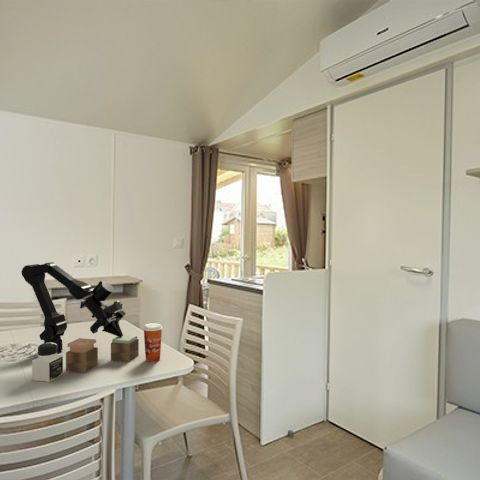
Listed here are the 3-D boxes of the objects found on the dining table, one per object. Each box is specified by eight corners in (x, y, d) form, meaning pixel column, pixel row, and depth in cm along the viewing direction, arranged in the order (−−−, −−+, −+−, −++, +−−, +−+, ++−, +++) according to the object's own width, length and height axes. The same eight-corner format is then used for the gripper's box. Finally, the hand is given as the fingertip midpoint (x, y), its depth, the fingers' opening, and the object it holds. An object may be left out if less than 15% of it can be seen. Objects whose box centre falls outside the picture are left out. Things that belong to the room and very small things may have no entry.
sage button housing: (110, 360, 153) (110, 343, 152) (121, 354, 160) (121, 337, 160) (129, 361, 151) (129, 344, 151) (138, 355, 159) (138, 338, 158)
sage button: (112, 357, 153) (112, 339, 153) (121, 351, 160) (121, 334, 160) (128, 358, 151) (128, 340, 151) (137, 352, 158) (137, 335, 158)
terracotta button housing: (65, 371, 141) (65, 352, 141) (79, 363, 149) (79, 346, 148) (85, 373, 139) (85, 354, 139) (97, 365, 147) (97, 347, 147)
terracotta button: (67, 362, 141) (67, 343, 141) (79, 356, 148) (79, 338, 148) (84, 364, 140) (84, 344, 139) (96, 357, 147) (96, 339, 146)
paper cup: (145, 364, 149) (145, 328, 148) (141, 358, 155) (141, 324, 155) (165, 361, 152) (165, 326, 152) (160, 355, 159) (159, 322, 159)
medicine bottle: (49, 382, 131) (49, 347, 130) (31, 380, 132) (31, 346, 132) (63, 374, 138) (63, 341, 137) (46, 373, 139) (45, 340, 139)
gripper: (96, 299, 147) (122, 329, 145) (121, 291, 165) (145, 318, 163) (78, 318, 149) (104, 348, 147) (105, 309, 167) (128, 335, 165)
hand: (121, 336), depth 156 cm, fingers closed
